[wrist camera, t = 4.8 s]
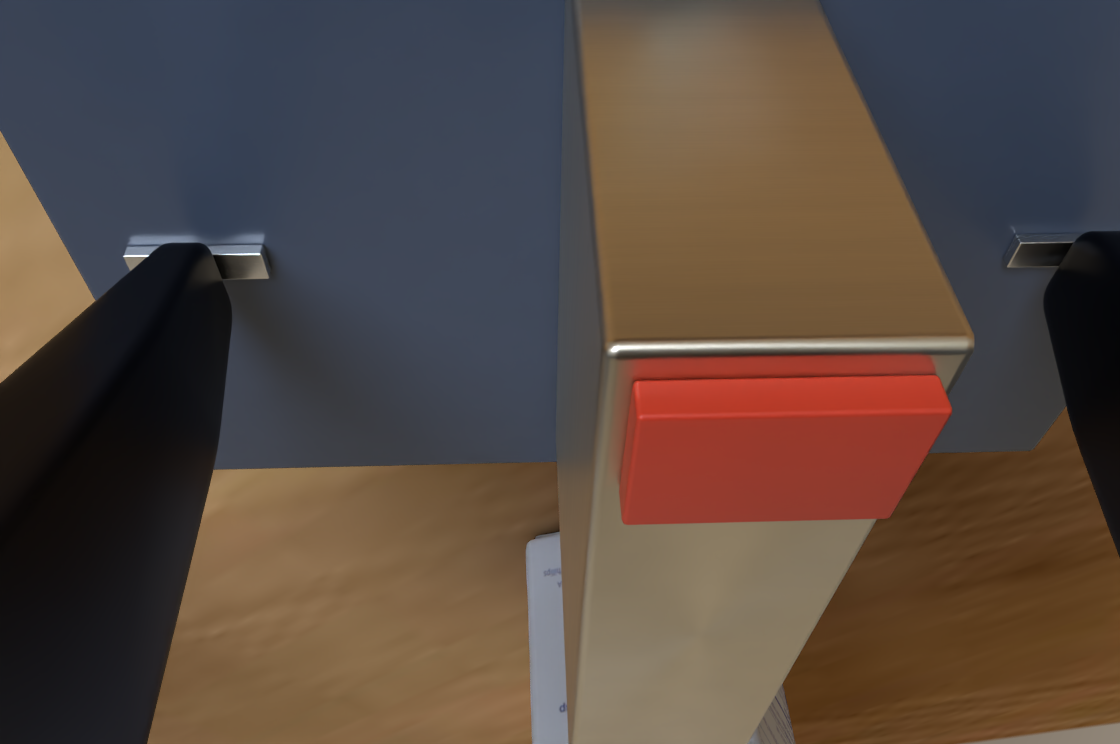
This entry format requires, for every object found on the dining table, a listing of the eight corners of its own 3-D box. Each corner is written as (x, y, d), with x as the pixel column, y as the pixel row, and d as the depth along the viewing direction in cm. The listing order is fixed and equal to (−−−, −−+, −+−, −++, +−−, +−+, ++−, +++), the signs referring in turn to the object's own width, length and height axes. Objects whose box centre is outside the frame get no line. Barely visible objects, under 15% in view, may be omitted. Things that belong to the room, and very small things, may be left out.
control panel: (254, 369, 15) (214, 530, 13) (-92, -502, 7) (-341, -432, 5) (935, 356, 15) (1000, 511, 13) (1377, -480, 7) (1712, -408, 5)
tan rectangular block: (688, 432, 12) (746, 785, 9) (555, 436, 12) (570, 790, 9) (797, -59, 7) (1003, 383, 4) (565, -60, 7) (605, 392, 4)
